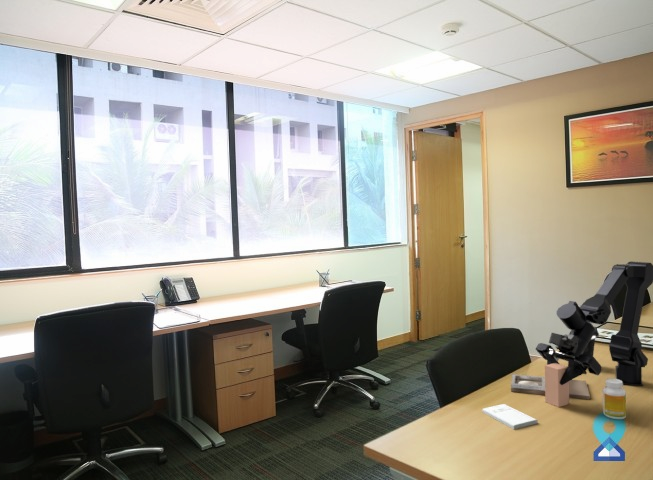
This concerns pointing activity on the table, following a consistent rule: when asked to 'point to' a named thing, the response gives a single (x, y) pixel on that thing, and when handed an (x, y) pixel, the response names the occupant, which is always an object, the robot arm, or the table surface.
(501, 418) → the external hard drive
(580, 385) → the board
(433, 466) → the table surface
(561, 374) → the terracotta pin
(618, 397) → the supplement bottle
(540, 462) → the table surface
